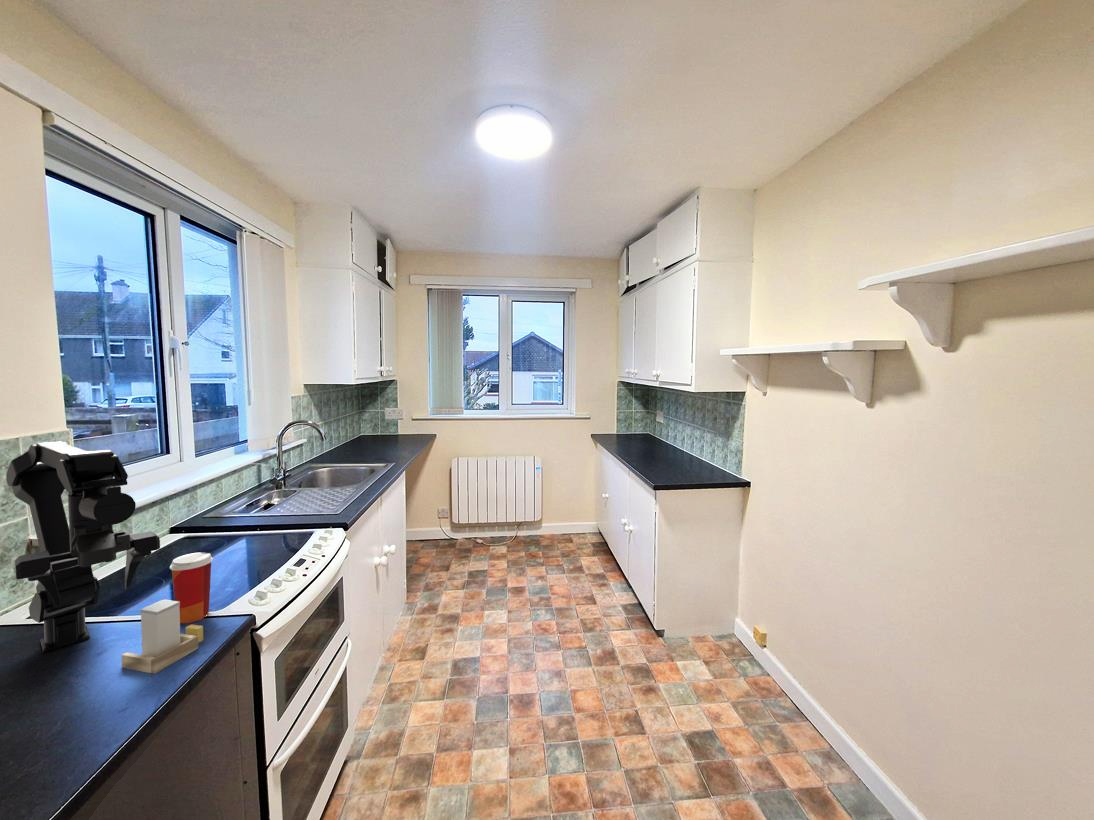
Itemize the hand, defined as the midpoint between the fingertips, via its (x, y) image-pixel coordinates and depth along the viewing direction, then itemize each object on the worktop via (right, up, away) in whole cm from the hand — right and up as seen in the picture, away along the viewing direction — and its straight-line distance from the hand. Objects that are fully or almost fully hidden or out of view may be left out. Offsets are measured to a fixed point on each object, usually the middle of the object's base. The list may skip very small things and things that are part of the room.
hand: (94, 596), depth 83 cm
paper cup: (+6, -12, +16) cm, 21 cm away
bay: (+12, -13, +1) cm, 17 cm away
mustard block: (+14, -12, +7) cm, 20 cm away
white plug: (+12, -13, +1) cm, 17 cm away
